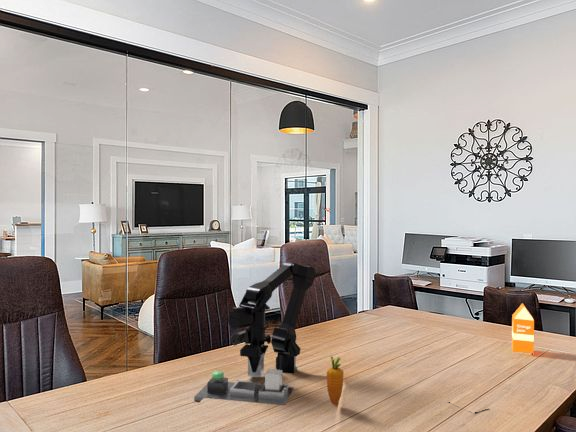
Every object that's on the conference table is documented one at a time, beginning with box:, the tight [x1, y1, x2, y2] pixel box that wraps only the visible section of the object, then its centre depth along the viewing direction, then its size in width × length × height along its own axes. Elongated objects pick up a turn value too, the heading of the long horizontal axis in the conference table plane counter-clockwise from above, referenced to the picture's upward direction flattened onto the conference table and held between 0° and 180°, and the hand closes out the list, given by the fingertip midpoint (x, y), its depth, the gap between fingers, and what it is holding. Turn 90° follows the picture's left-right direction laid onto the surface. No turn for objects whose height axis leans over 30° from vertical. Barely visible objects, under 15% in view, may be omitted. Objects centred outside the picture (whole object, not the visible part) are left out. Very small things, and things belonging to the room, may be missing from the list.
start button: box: [211, 370, 225, 380], centre depth 149 cm, size 4×4×2 cm
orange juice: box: [511, 302, 535, 354], centre depth 198 cm, size 8×9×20 cm
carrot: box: [326, 355, 344, 405], centre depth 140 cm, size 5×5×15 cm
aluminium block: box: [247, 352, 265, 378], centre depth 160 cm, size 4×4×7 cm
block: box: [264, 368, 283, 392], centre depth 145 cm, size 4×4×7 cm
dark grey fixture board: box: [193, 377, 294, 406], centre depth 147 cm, size 28×14×4 cm, turn 79°
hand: (255, 370), depth 160 cm, fingers closed on aluminium block, 4 cm apart
